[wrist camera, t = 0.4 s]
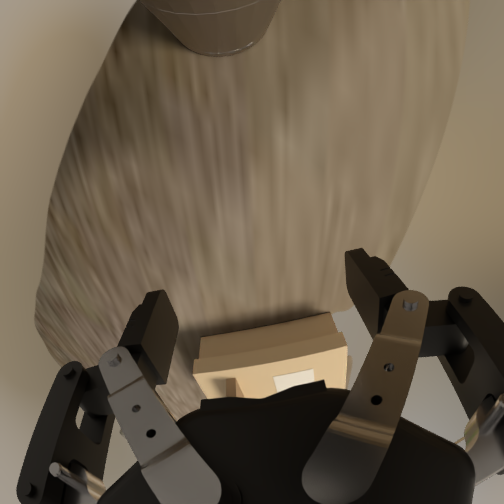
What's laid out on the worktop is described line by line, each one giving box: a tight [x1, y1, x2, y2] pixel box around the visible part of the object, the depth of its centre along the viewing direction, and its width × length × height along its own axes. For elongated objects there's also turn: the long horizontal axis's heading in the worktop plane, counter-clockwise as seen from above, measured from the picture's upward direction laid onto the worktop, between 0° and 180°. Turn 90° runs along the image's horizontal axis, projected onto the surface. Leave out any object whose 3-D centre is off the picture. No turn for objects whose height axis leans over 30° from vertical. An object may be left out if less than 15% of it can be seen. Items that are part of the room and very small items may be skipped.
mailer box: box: [199, 312, 338, 359], centre depth 38 cm, size 10×18×6 cm, turn 102°
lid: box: [193, 332, 347, 399], centre depth 34 cm, size 12×19×5 cm, turn 102°
